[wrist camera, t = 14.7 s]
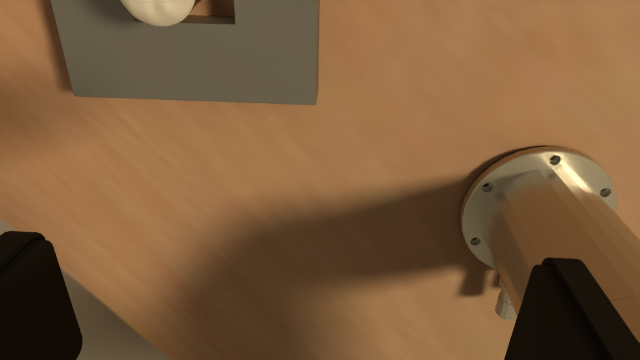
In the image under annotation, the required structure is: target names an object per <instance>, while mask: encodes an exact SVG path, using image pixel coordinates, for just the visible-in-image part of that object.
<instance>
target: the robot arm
mask: <svg viewBox="0 0 640 360" xmlns="http://www.w3.org/2000/svg"><path fill="white" fill-rule="evenodd" d="M552 156H553V157H552ZM486 183H487V184H486ZM484 184H485V185H484ZM616 202H617V196H616V192H615V187H614V184H613V183H612V181H611V179H610V177H609V175H608V174H607V173H606V172H605V171H604V170H603V168H602V167H601V166H600V165H599V164H597V163H596V162H595V161H594V160H593V159H591V158H590V157H588V156H586V155H584V154H583V153H581V152H579V151H575V150H572V149H568V148H564V147H552V146H547V147H535V148H530V149H526V150H522V151H518V152H516V153H514V154H511V155H509V156H507V157H504V158H503V159H501V160H499V161H498V162H496V163H494V164H493V165H491V166H490V167H489V168H488V169H486V170H485V171H484V172H483V173H482V174H481V175H480V176H479V177H478V178H477V179H476V180H475V182H474V183H473V184H472V185H471V187H470V189H469V190H468V192H467V194H466V196H465V198H464V201H463V204H462V207H461V215H460V223H461V230H462V233H463V236H464V239H465V242H466V244H467V245H468V247H469V249H470V251H471V252H472V253H473V254H474V255H475V256H476V257H477V258H478V259H479V260H480V261H482V262H483V263H484V264H486V265H487V266H489V267H492V268H494V269H496V270H497V271H498V273H499V276H500V279H499V285H500V286H501V288H502V289H501V292H500V294H499V296H498V300H497V304H496V307H495V311H496V313H497V314H498V315H499V316H500V317H502V318H504V319H509V320H511V319H515V318H516V316H517V319H516V323H515V326H514V329H513V332H512V336H511V339H510V342H509V346H508V349H507V352H506V355H505V359H504V360H640V239H639V238H638V237H637V236H636V235H635V234H634V233H633V232H632V231H631V229H630V228H629V227H628V226H627V225H626V224H625V223H624V222H623V221H622V220H621V219H620V217H619V216H618V215H617V214H616V213H615V212H616ZM81 348H82V334H81V332H80V328H79V325H78V322H77V319H76V316H75V313H74V310H73V307H72V304H71V300H70V297H69V294H68V291H67V288H66V285H65V282H64V279H63V276H62V272H61V269H60V266H59V263H58V260H57V257H56V254H55V251H54V248H53V245H52V243H51V242H50V241H47V240H45V238H44V236H43V235H42V234H41V233H37V232H18V231H9V232H5V233H3V234H2V235H1V236H0V360H76V359H77V357H78V355H79V353H80V351H81Z"/></svg>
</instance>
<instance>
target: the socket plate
mask: <svg viewBox="0 0 640 360" xmlns="http://www.w3.org/2000/svg"><path fill="white" fill-rule="evenodd" d="M50 1H51V5H52V9H53V13H54V17H55V21H56V25H57V29H58V33H59V37H60V41H61V45H62V49H63V53H64V57H65V61H66V65H67V69H68V73H69V77H70V82H71V86H72V90H73V94H74V96H80V97H107V98H134V99H161V100H188V101H215V102H242V103H269V104H296V105H316V100H317V95H318V63H319V5H320V0H234V9H235V17H230V16H196V15H188V16H187V17H186V18H185V19H183V20H182V21H181V22H179V23H177V24H174V25H170V26H154V25H150V24H147V23H145V22H143V21H141V20H139V19H137V18H135V17H134V16H133V15H132V14H131V13H130V12H129V11H128V10H127V8H126V7H125V6H124V5H123V3H122V2H121V1H120V0H50Z"/></svg>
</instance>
